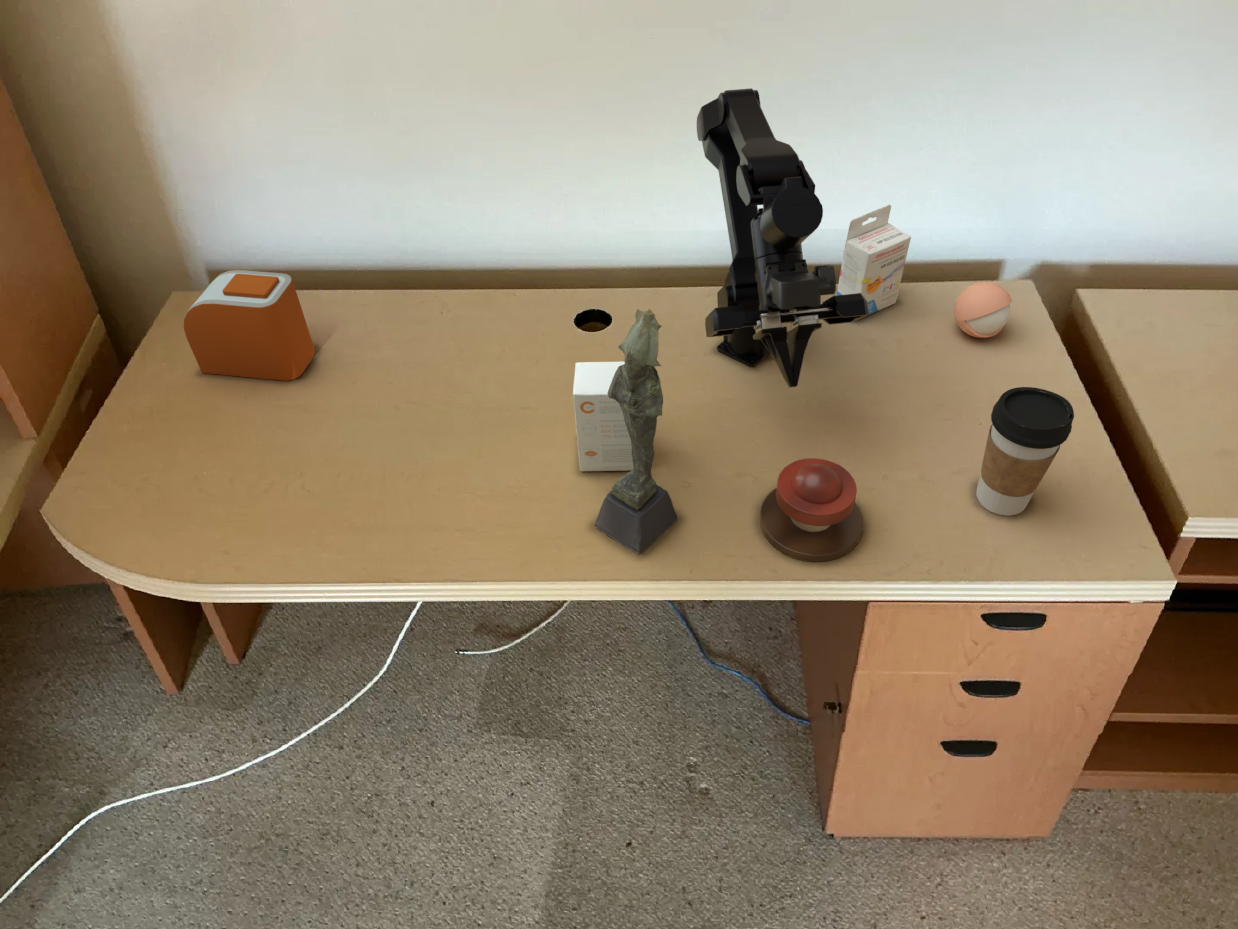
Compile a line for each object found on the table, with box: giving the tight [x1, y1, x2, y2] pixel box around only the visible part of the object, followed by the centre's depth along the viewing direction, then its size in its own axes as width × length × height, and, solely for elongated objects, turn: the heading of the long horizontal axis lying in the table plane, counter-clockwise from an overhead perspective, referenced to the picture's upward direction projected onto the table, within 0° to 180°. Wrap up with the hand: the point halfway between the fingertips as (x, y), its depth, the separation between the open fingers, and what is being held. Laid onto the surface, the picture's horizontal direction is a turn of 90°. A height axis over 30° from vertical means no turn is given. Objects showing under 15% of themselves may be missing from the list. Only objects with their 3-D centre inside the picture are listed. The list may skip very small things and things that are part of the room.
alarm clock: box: [183, 269, 316, 382], centre depth 133 cm, size 15×8×14 cm, turn 80°
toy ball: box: [953, 281, 1013, 339], centre depth 135 cm, size 8×8×8 cm
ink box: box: [835, 204, 912, 316], centre depth 138 cm, size 8×5×15 cm, turn 123°
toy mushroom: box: [759, 457, 864, 563], centre depth 109 cm, size 12×12×9 cm
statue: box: [594, 308, 679, 555], centre depth 102 cm, size 7×8×30 cm
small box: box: [572, 361, 633, 472], centre depth 117 cm, size 8×6×13 cm
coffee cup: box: [975, 386, 1075, 517], centre depth 109 cm, size 8×8×15 cm
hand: (793, 386), depth 113 cm, fingers closed
